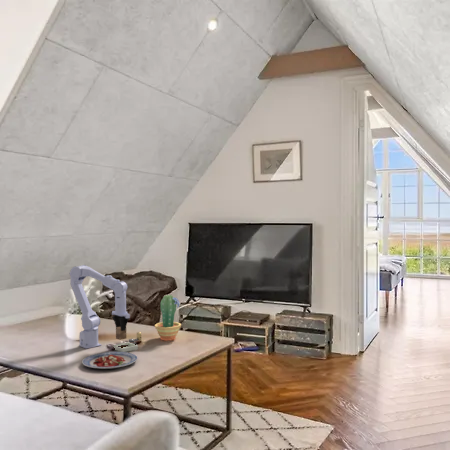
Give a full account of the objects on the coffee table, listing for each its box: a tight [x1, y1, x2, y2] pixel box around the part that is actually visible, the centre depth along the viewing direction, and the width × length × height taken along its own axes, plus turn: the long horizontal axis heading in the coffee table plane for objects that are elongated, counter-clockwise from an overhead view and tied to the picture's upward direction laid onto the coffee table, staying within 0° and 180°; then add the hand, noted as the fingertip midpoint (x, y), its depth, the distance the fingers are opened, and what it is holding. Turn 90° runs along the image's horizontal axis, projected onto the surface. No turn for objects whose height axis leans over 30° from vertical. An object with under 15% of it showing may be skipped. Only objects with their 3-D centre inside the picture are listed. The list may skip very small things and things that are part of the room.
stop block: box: [115, 326, 127, 341], centre depth 254 cm, size 4×4×6 cm
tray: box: [112, 341, 139, 353], centre depth 250 cm, size 9×9×2 cm
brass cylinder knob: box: [128, 331, 142, 342], centre depth 263 cm, size 8×3×4 cm, turn 135°
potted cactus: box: [154, 294, 182, 342], centre depth 273 cm, size 15×15×25 cm
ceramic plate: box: [81, 351, 138, 370], centre depth 227 cm, size 26×26×3 cm
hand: (120, 329), depth 254 cm, fingers closed on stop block, 4 cm apart
